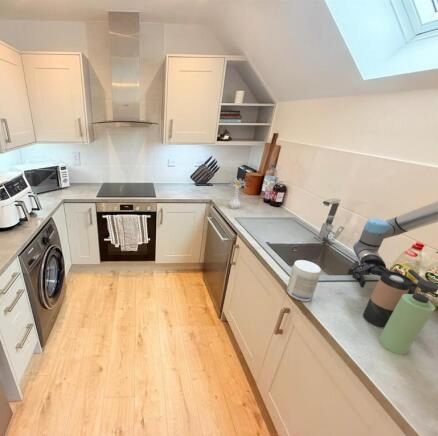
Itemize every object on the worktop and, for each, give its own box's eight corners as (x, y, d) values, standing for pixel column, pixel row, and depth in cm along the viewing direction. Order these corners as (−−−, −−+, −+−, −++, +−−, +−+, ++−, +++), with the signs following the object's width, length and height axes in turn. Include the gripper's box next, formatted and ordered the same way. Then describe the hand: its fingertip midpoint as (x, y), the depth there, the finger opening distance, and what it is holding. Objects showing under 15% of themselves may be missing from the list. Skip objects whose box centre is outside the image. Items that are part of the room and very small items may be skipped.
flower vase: (236, 203, 207) (241, 175, 197) (245, 211, 190) (251, 181, 181) (222, 203, 207) (226, 175, 197) (229, 211, 190) (234, 181, 180)
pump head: (437, 298, 68) (442, 290, 67) (419, 295, 69) (424, 286, 68) (414, 277, 76) (419, 270, 75) (399, 275, 78) (403, 267, 76)
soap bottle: (402, 341, 80) (432, 293, 72) (410, 358, 75) (443, 308, 66) (375, 333, 84) (401, 286, 75) (381, 348, 78) (409, 299, 70)
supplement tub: (317, 300, 99) (328, 271, 93) (298, 304, 96) (308, 275, 90) (298, 285, 107) (307, 258, 101) (280, 289, 105) (288, 261, 99)
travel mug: (393, 331, 84) (419, 286, 76) (367, 325, 87) (389, 281, 79) (382, 315, 91) (405, 273, 83) (358, 310, 93) (378, 268, 85)
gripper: (406, 277, 98) (430, 311, 82) (333, 261, 110) (341, 287, 93) (414, 262, 95) (441, 294, 78) (338, 247, 107) (347, 271, 90)
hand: (387, 290), depth 86 cm, fingers open, 13 cm apart
